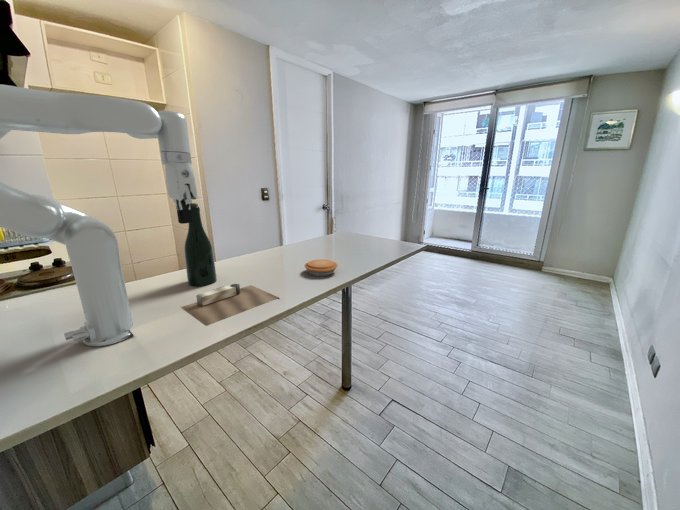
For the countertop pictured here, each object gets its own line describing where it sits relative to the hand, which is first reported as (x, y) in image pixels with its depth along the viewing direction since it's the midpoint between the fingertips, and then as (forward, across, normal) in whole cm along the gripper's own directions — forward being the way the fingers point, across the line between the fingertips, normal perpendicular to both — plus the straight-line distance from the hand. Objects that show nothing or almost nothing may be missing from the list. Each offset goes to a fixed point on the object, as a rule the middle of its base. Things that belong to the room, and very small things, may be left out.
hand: (185, 222), depth 85 cm
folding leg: (+27, -1, -8) cm, 28 cm away
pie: (+29, -4, -55) cm, 63 cm away
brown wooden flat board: (+29, -6, -9) cm, 31 cm away
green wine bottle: (+29, +20, -11) cm, 37 cm away
